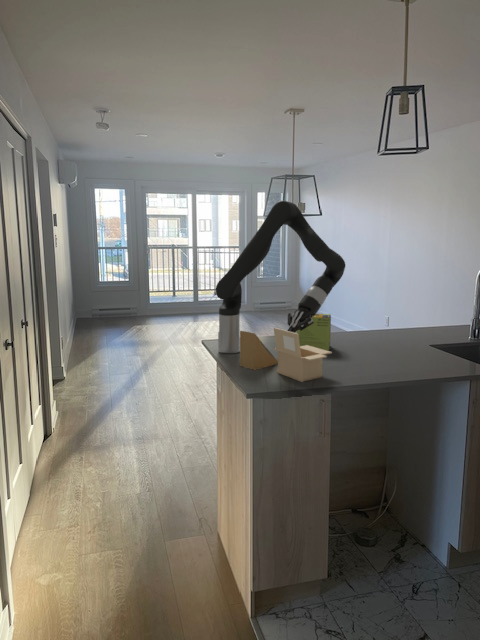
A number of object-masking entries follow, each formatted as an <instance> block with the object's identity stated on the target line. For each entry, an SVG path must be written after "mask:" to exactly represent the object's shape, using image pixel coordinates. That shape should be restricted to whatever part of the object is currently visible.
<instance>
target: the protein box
mask: <svg viewBox="0 0 480 640" xmlns="http://www.w3.org/2000/svg"><path fill="white" fill-rule="evenodd" d="M312 320H313V321H314V323H313V324H311V325H310V326H308V327H307V328H305V329H303V330H302V331H300V330H298V331H296V333H297V334H299V343H300V346H305V345H309V346H312V347H316V348H319V349H323V350H326V351H330V347H331V346H330V345H331V327H332V323H331V322H332V314H331V313H316V315H315V316H313V317H312ZM303 326H304V325H303Z"/></svg>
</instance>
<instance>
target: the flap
mask: <svg viewBox="0 0 480 640" xmlns="http://www.w3.org/2000/svg"><path fill="white" fill-rule="evenodd" d="M273 335H274V342H275V348H276V350H275V351H277V350H278V351H281V352H284V353H287V354H290V355H293V356H296V357H299V358H301V352H300V343H299V334H297V332H296V333H293V332H290V331H287V330H286V329H282V328H278V327H273ZM278 351H277V352H278Z"/></svg>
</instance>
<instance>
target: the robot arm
mask: <svg viewBox="0 0 480 640" xmlns="http://www.w3.org/2000/svg"><path fill="white" fill-rule="evenodd" d="M283 225H285V226H288V227H290V228H291V230H293V231H294V232H295V233H296V234H297V235H298V237H299V239H300V240H301V242H302V244H303V246H304V248H305V249H306V250H307V252H308V253H309V254H310V256H311V257H313V258H314V259H315V261H317V262H321V263H323V264H324V266H326V267H325V269H324V271H323V272H322V274H321V275H320V276H318V277H317V278H316V279H315V280H314V282H313V284H312V285H311V287H310V288H309V289H308V290H307V291H306V292H305V294H304V295H303V297H302V298H301V300H300V301H299V303H298V304H297V306H298V307H297V309H296V310H295V311H294V312H293V313H291V312H289V313H288V314H287V325H288V329H287V330H286V331H290V332H293V333H297V331H298V330H300V331H302V330H303V329H305V328H307V327H308V326H310V325H311V324H313V323H314V321H313V320H312V317H313V316H315V315H316V314H318V312H319V311H320V308H322V306H323V305H324V303H325V301H326V299H327V297H328V296H329V294H330V293H331V291H332V290H333V288H334V287H335V286H336V285H337V284H338V283H339V281H340V280H341V279H342V277H343V275H344V272H345V269H346V262H345V259H344V258H343V256H341V254H339V253H337V252H336V251H335V250H333V249H332V248H330V247H329V246H328V244H327V243H326V242H325V240H323V239H322V238H321V237H320V236H319V234H318V233H317V232H316V231H315V230H314V229H313V228H312V227H311V225H310V224H309V222H308V221H307V220H306V218H305V217H304V215H303V212H302V211H301V210H300V208H299V207H298V206H297V205H296V204H295V203H293V202H290V201H287V200H279V201H277V202H275V204H274V205H273V206H272V208H271V209H270V211H269V212H268V215H266V218H265V219H264V221H263V223H262V224H261V226H260V227H259V229H258V230H257V231H256V232H255V234H254V236H253V237H252V238H251V240H249V242H248V243H247V245H245V246H244V249H243V250H242V251H241V253H240V254H239V256H238V257H237V259H236V261H234V263H233V264H232V266H231V267H230V269H229V270H228V271H227V272H226V273H225V274H224V275H223V276H222V278H220V280H219V281H218V282H217V283H216V286H215V294H216V296H217V298H218V299H220V300H222V303H221V305H220V306H219V308H218V323H219V324H218V335H217V337H218V338H217V340H218V342H217V344H218V353H222V354H236V353H237V354H238V353H240V331H241V330H240V323H241V322H240V320H241V319H240V317H241V316H240V313H241V312H240V311H241V308H242V294H243V293H242V292H243V291H242V284H241V282H243V280H244V279H245V278H246V277H247V276H248V275H249V274H251V273H253V271H255V270H256V268H257V267H258V266H260V264H261V263H262V262H263V261H264V259H266V257H267V256H268V254H269V252H270V250H271V247H272V242H273V239H274V237H275V235H276V234H277V232H279V230H280V229H281V228H282V227H283ZM303 325H304V326H303Z"/></svg>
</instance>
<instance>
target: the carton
mask: <svg viewBox="0 0 480 640" xmlns="http://www.w3.org/2000/svg"><path fill="white" fill-rule="evenodd" d="M274 351H277V361H278V364H277V373H278V374H280V375H282V376H285V377H287V378H291V379H294V380H295V381H298V382H301V383H304V382H308V381H311V380H317V379H320V378H322V377H323V359H326V358H328V355H330V354H332V353H333V352H332V351H330V350H329V351H326V350H323V349H319V348H316V347H312V346H309V345H305V346H300V352H301V358H299V357H296V356H293V355H290V354H287V353H284V352H281V351H278V350H276V347H275V348H274Z"/></svg>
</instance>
